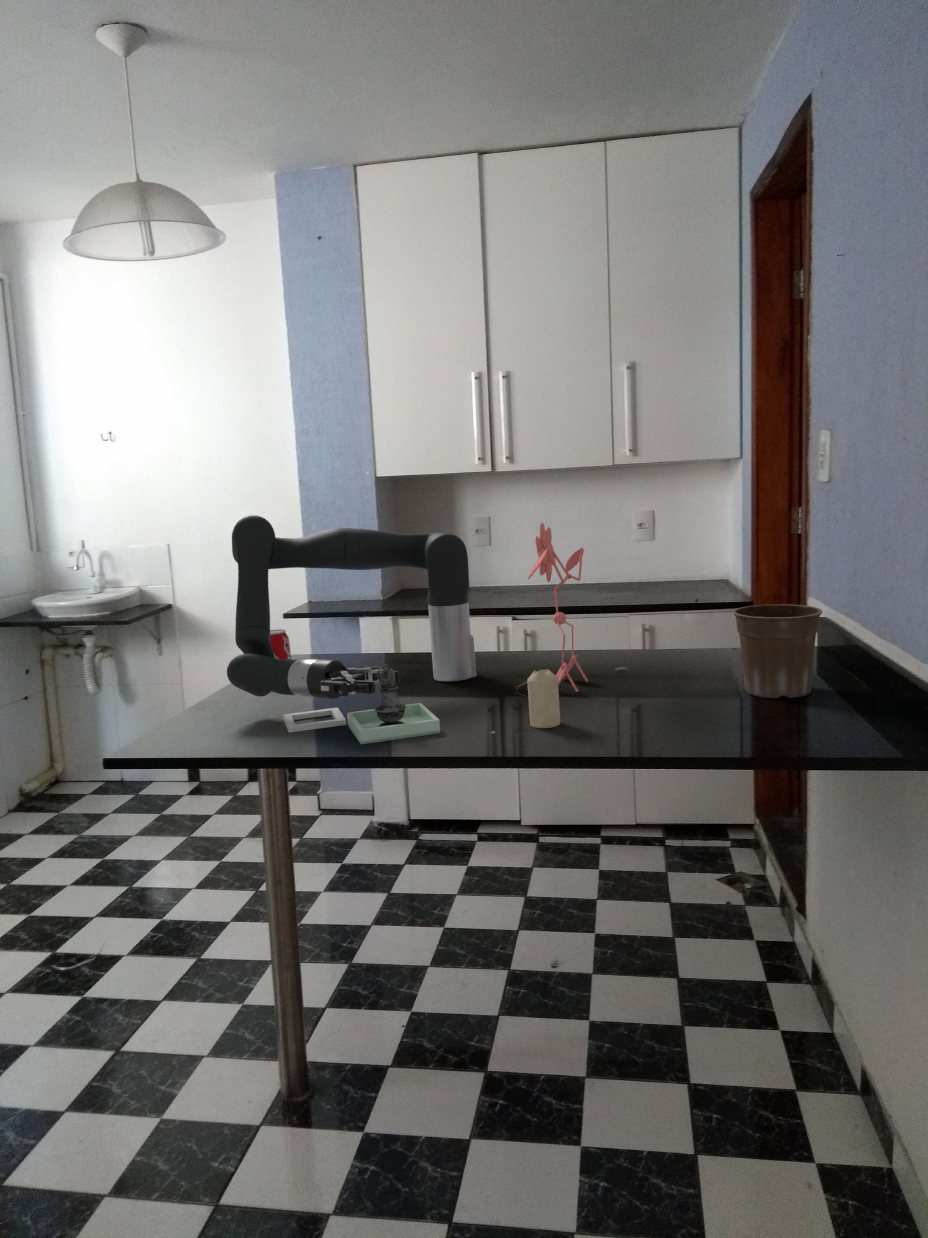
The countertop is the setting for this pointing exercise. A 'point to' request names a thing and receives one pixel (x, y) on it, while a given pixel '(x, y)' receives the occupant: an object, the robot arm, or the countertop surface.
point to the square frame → (336, 721)
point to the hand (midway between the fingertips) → (387, 682)
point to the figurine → (545, 565)
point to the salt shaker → (389, 699)
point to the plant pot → (777, 648)
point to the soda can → (280, 644)
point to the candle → (543, 699)
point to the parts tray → (414, 720)
